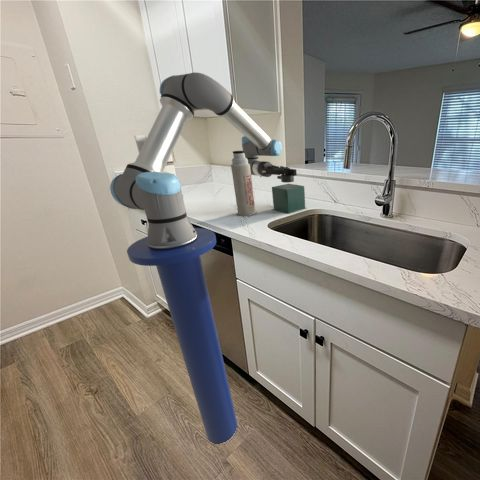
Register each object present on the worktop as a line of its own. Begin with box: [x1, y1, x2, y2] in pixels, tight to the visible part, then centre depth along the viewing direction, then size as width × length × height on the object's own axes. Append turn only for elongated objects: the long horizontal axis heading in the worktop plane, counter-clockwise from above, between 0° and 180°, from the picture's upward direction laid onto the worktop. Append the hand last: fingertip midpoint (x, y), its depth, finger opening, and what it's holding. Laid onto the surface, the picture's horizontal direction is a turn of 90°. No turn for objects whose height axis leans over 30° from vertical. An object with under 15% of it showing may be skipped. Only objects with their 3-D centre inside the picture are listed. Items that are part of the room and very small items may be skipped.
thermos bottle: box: [230, 150, 256, 217], centre depth 117 cm, size 8×8×28 cm
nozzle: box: [276, 174, 295, 184], centre depth 124 cm, size 10×6×3 cm, turn 49°
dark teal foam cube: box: [271, 183, 306, 214], centre depth 127 cm, size 13×11×11 cm
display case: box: [133, 134, 177, 176], centre depth 147 cm, size 11×11×35 cm
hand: (295, 172), depth 118 cm, fingers closed
